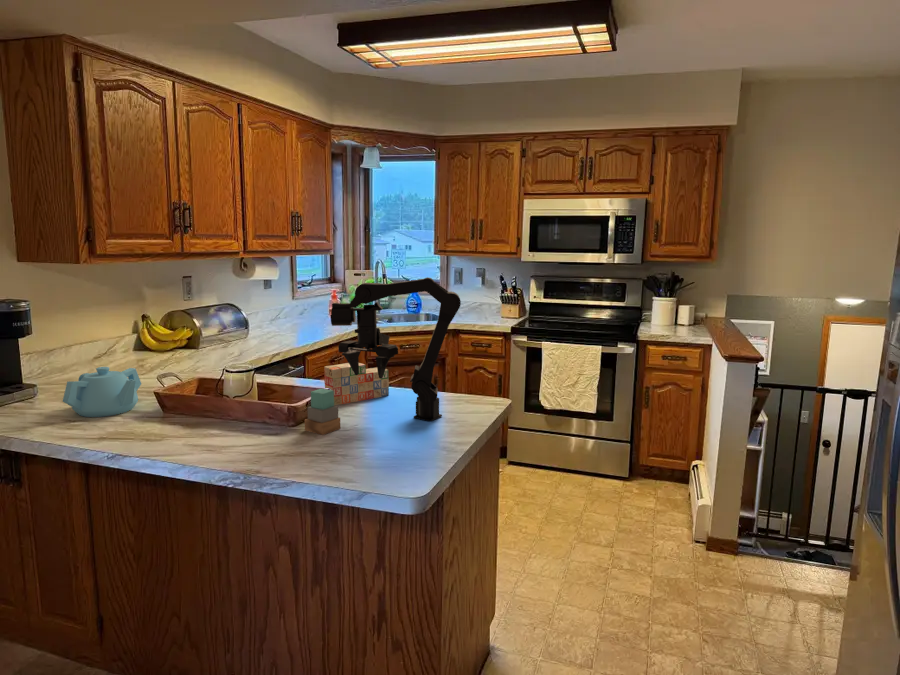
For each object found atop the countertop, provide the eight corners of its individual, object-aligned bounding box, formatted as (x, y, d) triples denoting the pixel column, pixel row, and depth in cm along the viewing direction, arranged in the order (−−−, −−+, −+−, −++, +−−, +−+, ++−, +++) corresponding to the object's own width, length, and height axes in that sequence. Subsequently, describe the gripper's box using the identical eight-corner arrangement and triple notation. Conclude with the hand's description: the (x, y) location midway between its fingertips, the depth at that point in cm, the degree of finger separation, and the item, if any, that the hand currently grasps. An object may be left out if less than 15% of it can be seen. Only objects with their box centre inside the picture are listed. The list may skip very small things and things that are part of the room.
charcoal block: (338, 418, 166) (338, 406, 165) (322, 423, 161) (321, 410, 161) (324, 414, 169) (323, 402, 169) (307, 419, 165) (307, 407, 164)
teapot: (63, 421, 171) (59, 375, 169) (79, 404, 188) (75, 362, 186) (137, 415, 177) (134, 371, 175) (145, 400, 195) (142, 359, 193)
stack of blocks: (379, 392, 208) (379, 358, 206) (389, 396, 203) (388, 361, 201) (324, 401, 195) (323, 365, 193) (333, 405, 190) (332, 369, 188)
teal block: (334, 405, 166) (333, 390, 165) (323, 409, 162) (322, 393, 161) (322, 403, 168) (321, 388, 167) (311, 407, 164) (310, 391, 163)
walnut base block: (340, 429, 167) (340, 417, 166) (322, 436, 161) (322, 423, 160) (322, 425, 170) (322, 413, 170) (304, 431, 165) (304, 419, 164)
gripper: (408, 323, 175) (409, 374, 178) (359, 320, 185) (361, 368, 187) (385, 328, 166) (387, 382, 169) (336, 324, 175) (338, 375, 178)
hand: (368, 376), depth 176 cm, fingers open, 9 cm apart
